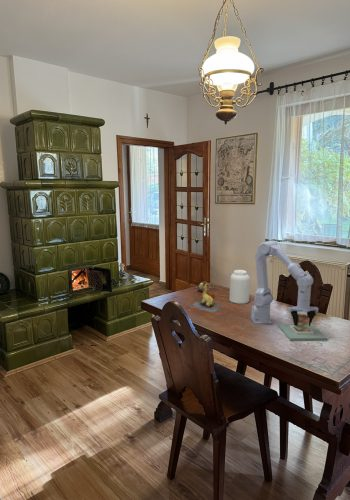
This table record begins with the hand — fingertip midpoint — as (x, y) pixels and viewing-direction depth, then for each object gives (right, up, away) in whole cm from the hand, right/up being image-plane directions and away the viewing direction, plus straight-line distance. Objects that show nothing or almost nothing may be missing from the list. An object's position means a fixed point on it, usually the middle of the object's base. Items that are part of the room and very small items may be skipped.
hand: (301, 325), depth 171 cm
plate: (0, -4, +1) cm, 4 cm away
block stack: (0, -3, +1) cm, 3 cm away
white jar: (-22, +5, +50) cm, 55 cm away
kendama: (-42, +7, +64) cm, 77 cm away
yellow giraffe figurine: (-44, +3, +40) cm, 59 cm away
